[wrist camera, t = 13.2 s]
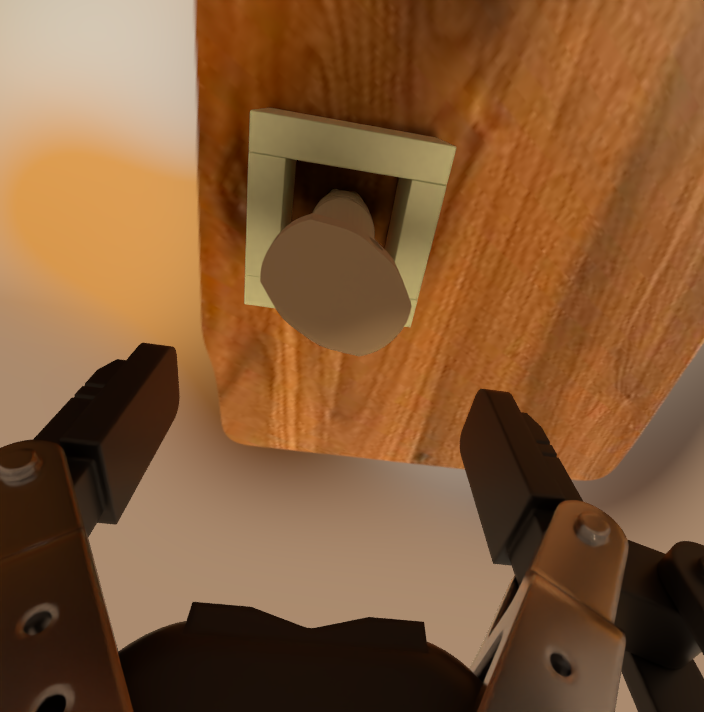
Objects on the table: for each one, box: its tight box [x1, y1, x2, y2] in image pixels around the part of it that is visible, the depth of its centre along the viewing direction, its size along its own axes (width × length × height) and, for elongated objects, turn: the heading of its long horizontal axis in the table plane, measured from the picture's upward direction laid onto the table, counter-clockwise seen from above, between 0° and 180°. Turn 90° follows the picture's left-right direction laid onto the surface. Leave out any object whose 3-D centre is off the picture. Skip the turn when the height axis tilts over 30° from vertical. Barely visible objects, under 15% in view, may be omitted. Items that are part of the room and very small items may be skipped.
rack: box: [244, 108, 456, 327], centre depth 28 cm, size 11×11×6 cm
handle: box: [260, 188, 412, 356], centre depth 24 cm, size 5×6×15 cm
